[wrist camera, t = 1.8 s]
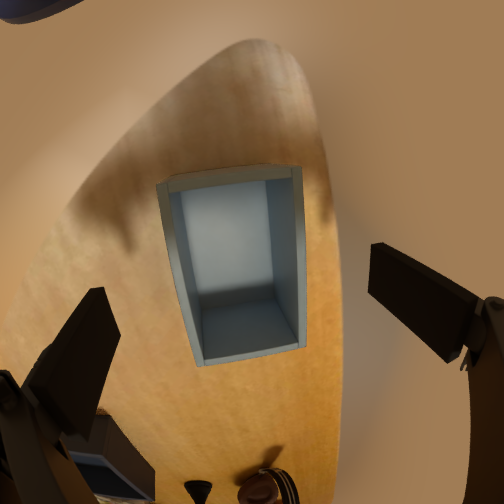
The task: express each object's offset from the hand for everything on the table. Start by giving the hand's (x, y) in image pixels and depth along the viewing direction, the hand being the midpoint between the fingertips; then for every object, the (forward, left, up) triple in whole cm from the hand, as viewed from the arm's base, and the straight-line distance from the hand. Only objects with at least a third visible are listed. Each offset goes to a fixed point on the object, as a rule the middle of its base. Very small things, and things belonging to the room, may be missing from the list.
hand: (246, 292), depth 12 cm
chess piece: (+38, -11, -7) cm, 40 cm away
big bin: (+24, -24, -7) cm, 34 cm away
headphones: (+39, -2, -7) cm, 39 cm away
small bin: (0, 0, -7) cm, 7 cm away
